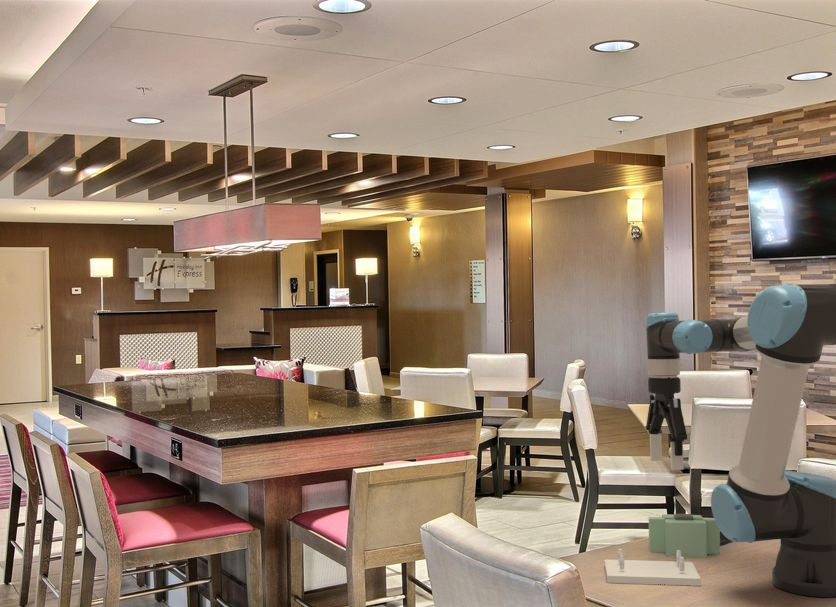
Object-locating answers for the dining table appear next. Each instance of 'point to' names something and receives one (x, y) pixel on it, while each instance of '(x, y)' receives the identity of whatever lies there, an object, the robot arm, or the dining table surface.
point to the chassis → (651, 571)
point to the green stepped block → (684, 535)
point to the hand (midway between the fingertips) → (666, 465)
